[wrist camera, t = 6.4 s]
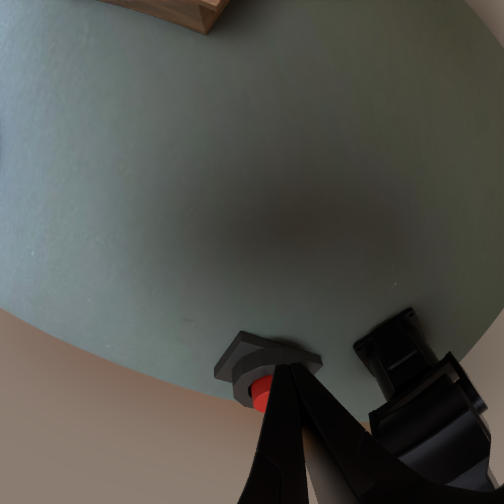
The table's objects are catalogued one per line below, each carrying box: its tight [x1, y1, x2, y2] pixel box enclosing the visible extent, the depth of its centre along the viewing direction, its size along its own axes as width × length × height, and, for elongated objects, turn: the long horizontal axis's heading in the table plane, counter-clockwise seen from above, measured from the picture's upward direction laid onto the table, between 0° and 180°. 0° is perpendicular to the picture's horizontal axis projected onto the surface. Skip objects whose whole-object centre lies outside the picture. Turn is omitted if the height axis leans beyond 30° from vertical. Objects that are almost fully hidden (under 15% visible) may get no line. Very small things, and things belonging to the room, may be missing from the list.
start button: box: [251, 375, 273, 413], centre depth 22 cm, size 3×3×2 cm
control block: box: [214, 331, 323, 409], centre depth 24 cm, size 8×6×3 cm
